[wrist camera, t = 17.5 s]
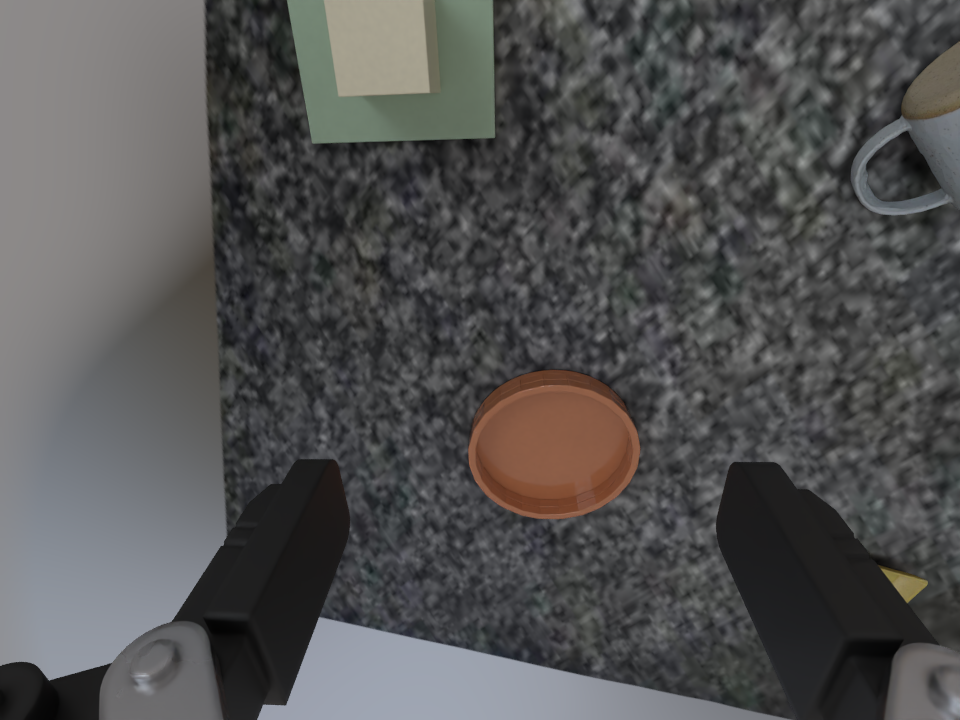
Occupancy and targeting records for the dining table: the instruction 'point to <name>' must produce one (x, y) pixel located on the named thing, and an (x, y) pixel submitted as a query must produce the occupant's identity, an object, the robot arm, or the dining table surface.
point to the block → (383, 46)
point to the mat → (408, 116)
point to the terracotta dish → (553, 445)
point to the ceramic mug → (922, 137)
